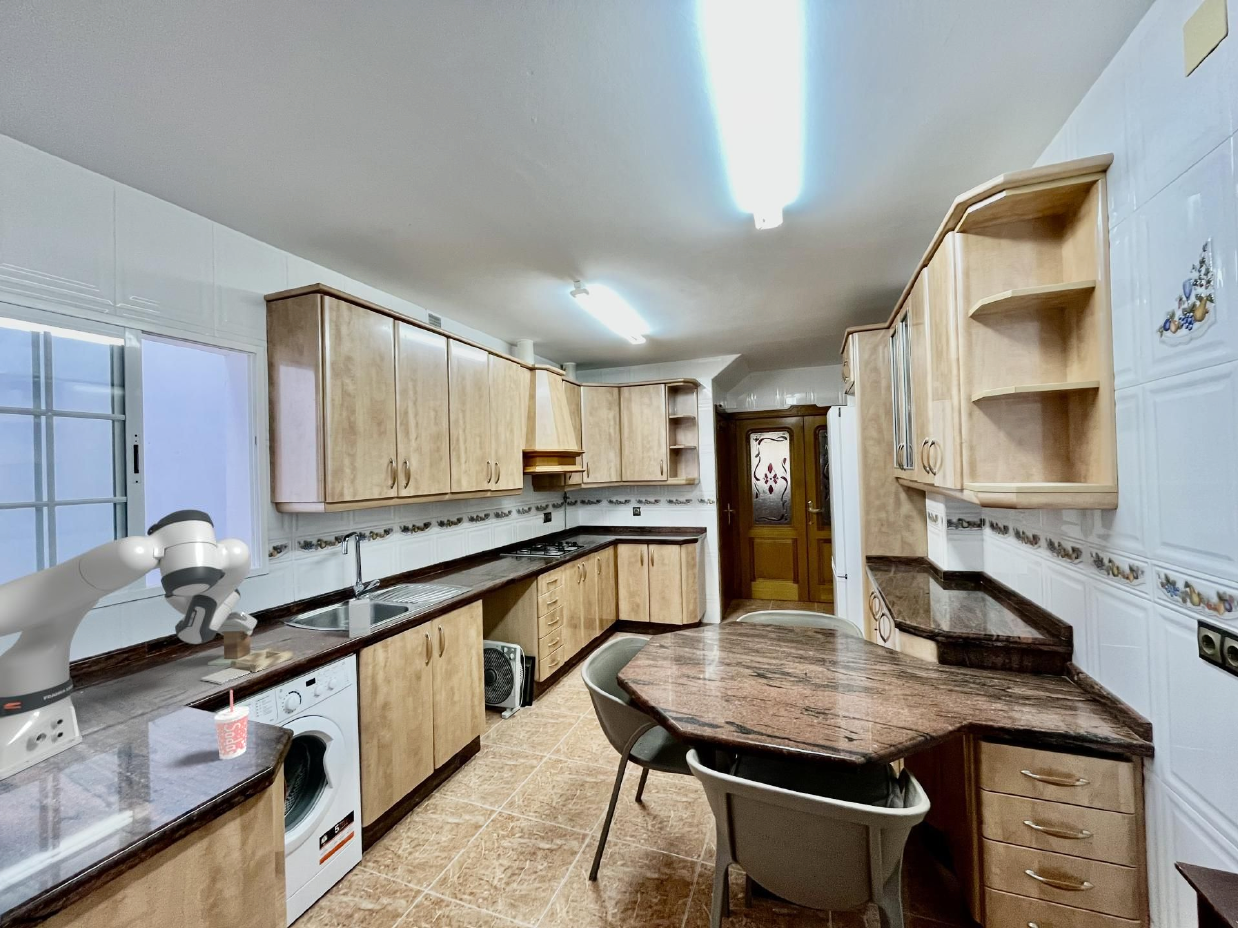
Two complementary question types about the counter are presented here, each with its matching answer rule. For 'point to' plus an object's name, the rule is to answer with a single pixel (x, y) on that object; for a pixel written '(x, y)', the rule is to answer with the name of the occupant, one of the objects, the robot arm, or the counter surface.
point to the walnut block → (236, 644)
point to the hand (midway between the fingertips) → (238, 633)
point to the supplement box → (359, 618)
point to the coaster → (225, 660)
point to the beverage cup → (232, 730)
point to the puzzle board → (250, 664)
